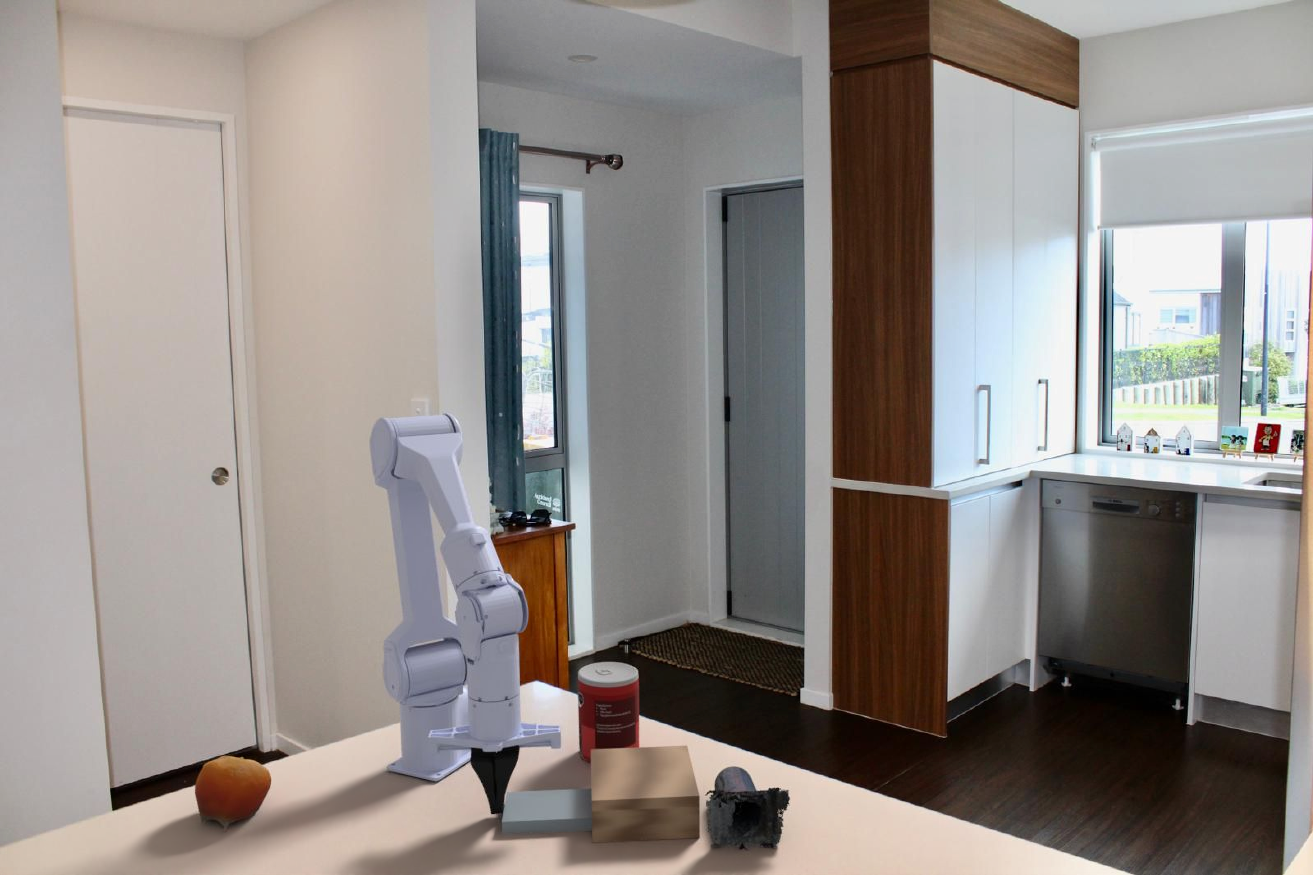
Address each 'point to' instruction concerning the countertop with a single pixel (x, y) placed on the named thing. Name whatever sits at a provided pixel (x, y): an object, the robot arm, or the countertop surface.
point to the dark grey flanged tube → (744, 811)
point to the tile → (547, 811)
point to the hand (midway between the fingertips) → (497, 810)
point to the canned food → (608, 707)
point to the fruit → (231, 789)
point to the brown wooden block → (643, 794)
